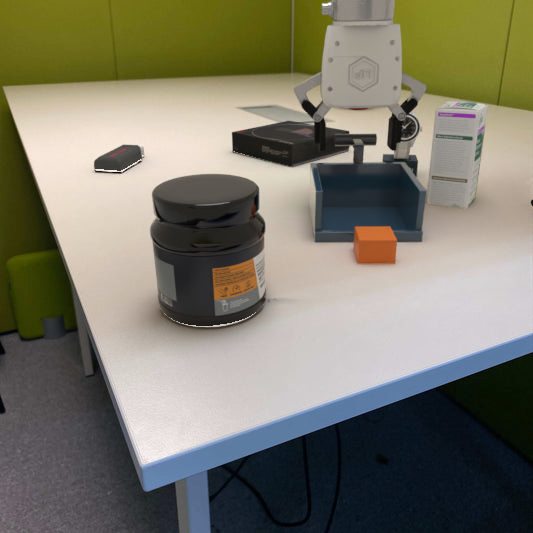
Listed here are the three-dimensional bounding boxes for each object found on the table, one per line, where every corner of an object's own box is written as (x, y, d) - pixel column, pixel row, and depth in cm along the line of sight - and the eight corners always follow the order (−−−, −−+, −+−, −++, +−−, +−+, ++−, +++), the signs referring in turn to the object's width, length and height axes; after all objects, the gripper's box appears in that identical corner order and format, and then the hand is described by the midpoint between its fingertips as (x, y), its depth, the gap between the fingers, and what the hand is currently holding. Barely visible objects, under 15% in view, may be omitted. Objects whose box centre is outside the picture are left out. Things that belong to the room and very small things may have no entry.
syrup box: (466, 217, 75) (483, 108, 69) (423, 211, 78) (435, 105, 71) (474, 205, 79) (490, 102, 73) (433, 199, 82) (445, 99, 76)
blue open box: (307, 200, 80) (309, 133, 76) (394, 199, 80) (400, 132, 75) (314, 247, 65) (316, 167, 61) (421, 247, 65) (431, 166, 60)
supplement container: (288, 311, 53) (288, 190, 47) (191, 347, 47) (179, 216, 42) (230, 272, 60) (225, 165, 55) (141, 300, 55) (126, 184, 50)
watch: (383, 182, 91) (388, 114, 86) (381, 169, 98) (386, 105, 93) (417, 183, 90) (425, 114, 85) (413, 169, 97) (420, 106, 92)
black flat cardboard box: (350, 150, 110) (351, 130, 109) (292, 166, 100) (292, 144, 98) (290, 138, 121) (291, 120, 119) (232, 152, 110) (231, 132, 109)
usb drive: (94, 172, 98) (92, 156, 97) (124, 155, 109) (122, 141, 108) (121, 173, 97) (119, 158, 96) (149, 156, 108) (147, 143, 107)
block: (397, 239, 58) (394, 273, 60) (390, 226, 62) (387, 258, 63) (359, 240, 58) (357, 273, 60) (354, 226, 62) (352, 258, 63)
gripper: (294, 14, 65) (294, 156, 72) (441, 11, 65) (426, 154, 72) (293, 13, 72) (293, 143, 79) (425, 10, 71) (413, 141, 79)
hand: (356, 148), depth 76 cm, fingers open, 9 cm apart
